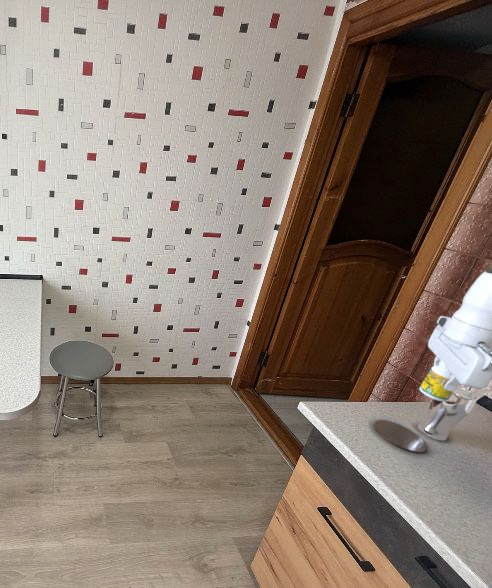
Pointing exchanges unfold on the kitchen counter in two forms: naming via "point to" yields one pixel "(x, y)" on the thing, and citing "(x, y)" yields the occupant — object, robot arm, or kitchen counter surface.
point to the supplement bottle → (437, 383)
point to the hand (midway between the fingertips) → (441, 381)
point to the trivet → (400, 436)
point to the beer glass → (447, 413)
